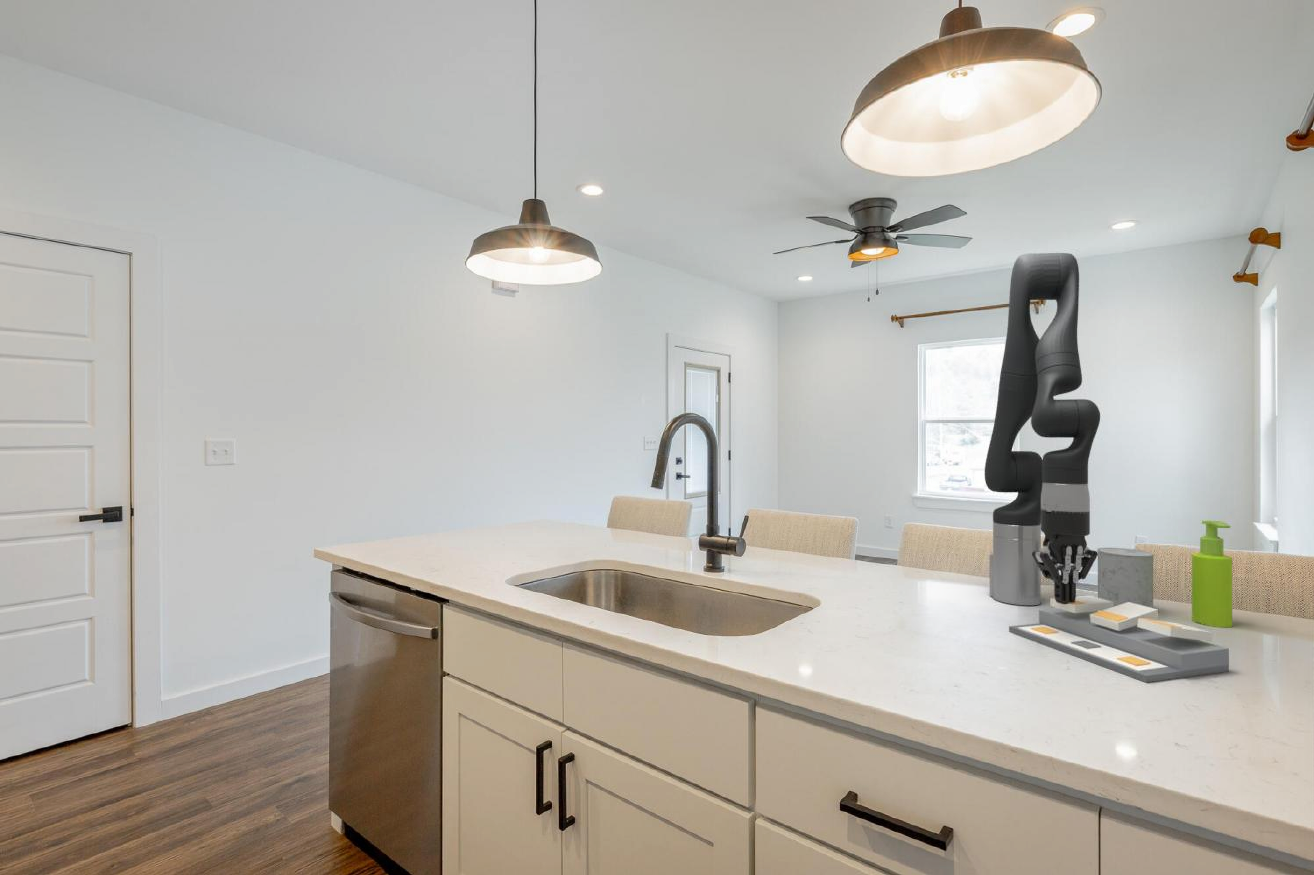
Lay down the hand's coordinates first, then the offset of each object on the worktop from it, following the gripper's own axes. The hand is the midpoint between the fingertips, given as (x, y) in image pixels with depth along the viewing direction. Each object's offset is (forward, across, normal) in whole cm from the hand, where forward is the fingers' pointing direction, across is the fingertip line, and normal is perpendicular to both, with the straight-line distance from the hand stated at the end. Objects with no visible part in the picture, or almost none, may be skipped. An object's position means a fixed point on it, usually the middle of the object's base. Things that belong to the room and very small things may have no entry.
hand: (1064, 602), depth 113 cm
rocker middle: (+1, -4, +8) cm, 9 cm away
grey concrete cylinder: (+6, -28, -10) cm, 30 cm away
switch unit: (+6, -1, +8) cm, 10 cm away
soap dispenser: (+6, -35, +2) cm, 35 cm away
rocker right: (+1, -4, +16) cm, 16 cm away
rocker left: (+1, -4, 0) cm, 4 cm away
